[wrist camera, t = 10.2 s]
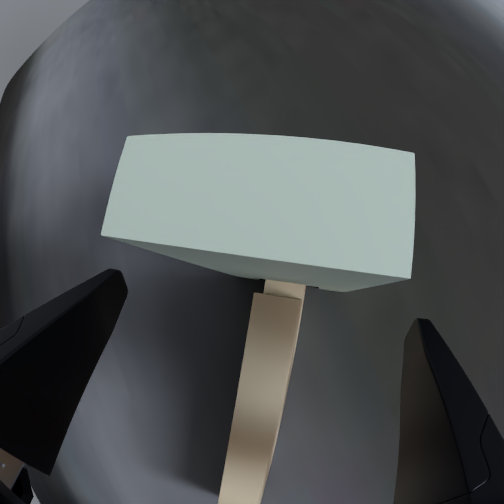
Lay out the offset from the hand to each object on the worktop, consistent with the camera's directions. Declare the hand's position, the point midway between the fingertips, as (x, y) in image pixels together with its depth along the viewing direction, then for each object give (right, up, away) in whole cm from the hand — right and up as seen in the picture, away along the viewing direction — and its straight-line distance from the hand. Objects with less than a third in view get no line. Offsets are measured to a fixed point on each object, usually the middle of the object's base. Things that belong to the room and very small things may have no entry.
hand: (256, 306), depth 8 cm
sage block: (+2, +1, +9) cm, 10 cm away
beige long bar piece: (+1, -6, +9) cm, 10 cm away
